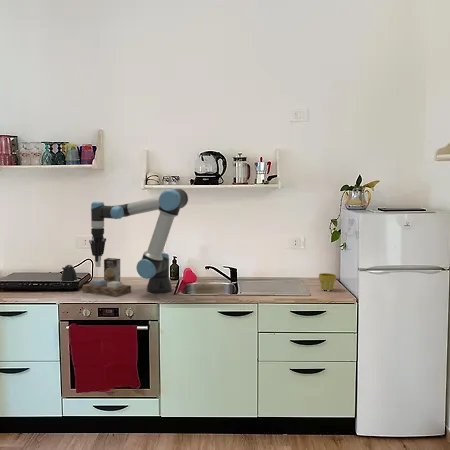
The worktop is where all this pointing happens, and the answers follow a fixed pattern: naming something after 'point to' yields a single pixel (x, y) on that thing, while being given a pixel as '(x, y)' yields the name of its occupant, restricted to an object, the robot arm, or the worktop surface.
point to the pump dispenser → (68, 273)
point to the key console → (106, 290)
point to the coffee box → (111, 270)
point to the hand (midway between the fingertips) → (98, 266)
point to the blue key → (98, 282)
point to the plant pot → (327, 281)
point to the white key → (114, 284)
